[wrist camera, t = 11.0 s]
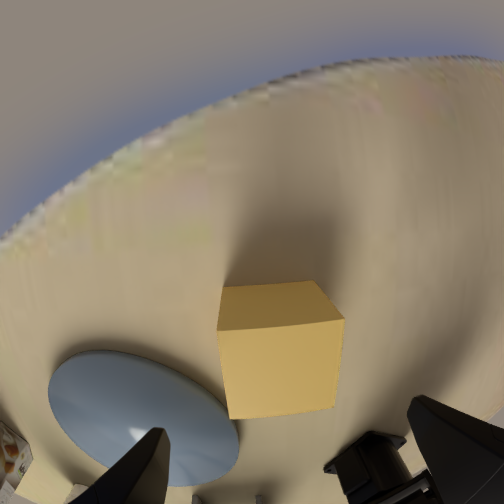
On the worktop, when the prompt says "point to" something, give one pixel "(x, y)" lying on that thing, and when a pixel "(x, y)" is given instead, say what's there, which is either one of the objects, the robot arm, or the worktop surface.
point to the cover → (195, 500)
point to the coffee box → (12, 462)
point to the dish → (142, 413)
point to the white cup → (75, 492)
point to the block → (279, 349)
